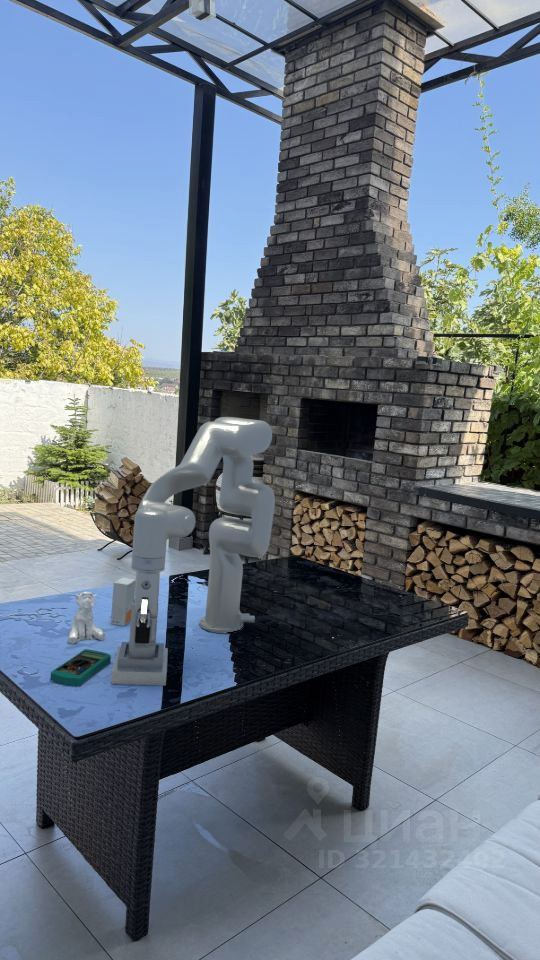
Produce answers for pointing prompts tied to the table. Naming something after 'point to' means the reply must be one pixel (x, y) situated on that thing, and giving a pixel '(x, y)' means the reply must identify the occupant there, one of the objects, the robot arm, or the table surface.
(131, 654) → the energy drink can
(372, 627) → the table surface
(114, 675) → the white square stepped base
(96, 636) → the white animal figurine
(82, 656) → the digital multimeter
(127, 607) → the skincare box
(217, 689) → the table surface
